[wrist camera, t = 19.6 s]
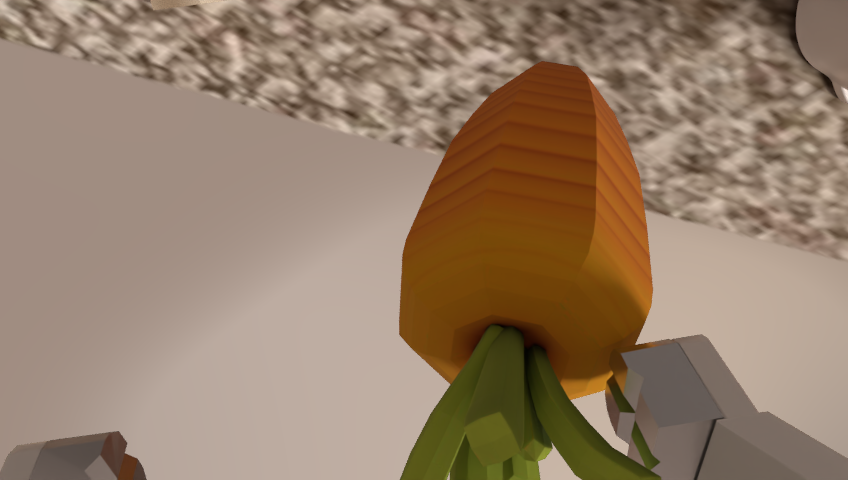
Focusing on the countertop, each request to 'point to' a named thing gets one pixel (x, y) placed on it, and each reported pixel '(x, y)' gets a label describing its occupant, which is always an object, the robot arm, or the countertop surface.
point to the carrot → (526, 282)
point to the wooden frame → (178, 3)
